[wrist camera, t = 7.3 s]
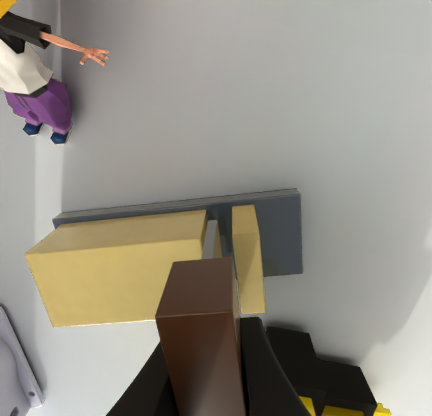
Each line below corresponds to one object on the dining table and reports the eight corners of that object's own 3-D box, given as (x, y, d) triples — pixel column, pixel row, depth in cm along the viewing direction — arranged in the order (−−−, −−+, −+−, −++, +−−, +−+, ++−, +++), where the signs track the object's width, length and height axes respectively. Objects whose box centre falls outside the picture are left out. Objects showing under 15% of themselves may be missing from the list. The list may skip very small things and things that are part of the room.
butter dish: (299, 264, 19) (318, 314, 15) (83, 282, 20) (45, 333, 16) (296, 188, 17) (317, 220, 13) (60, 213, 19) (10, 249, 14)
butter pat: (260, 273, 18) (266, 313, 15) (239, 274, 19) (241, 315, 15) (253, 203, 17) (259, 232, 14) (231, 205, 17) (231, 234, 14)
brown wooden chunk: (247, 338, 15) (257, 498, 9) (211, 340, 16) (198, 499, 10) (232, 206, 13) (232, 311, 7) (189, 210, 13) (153, 316, 7)
